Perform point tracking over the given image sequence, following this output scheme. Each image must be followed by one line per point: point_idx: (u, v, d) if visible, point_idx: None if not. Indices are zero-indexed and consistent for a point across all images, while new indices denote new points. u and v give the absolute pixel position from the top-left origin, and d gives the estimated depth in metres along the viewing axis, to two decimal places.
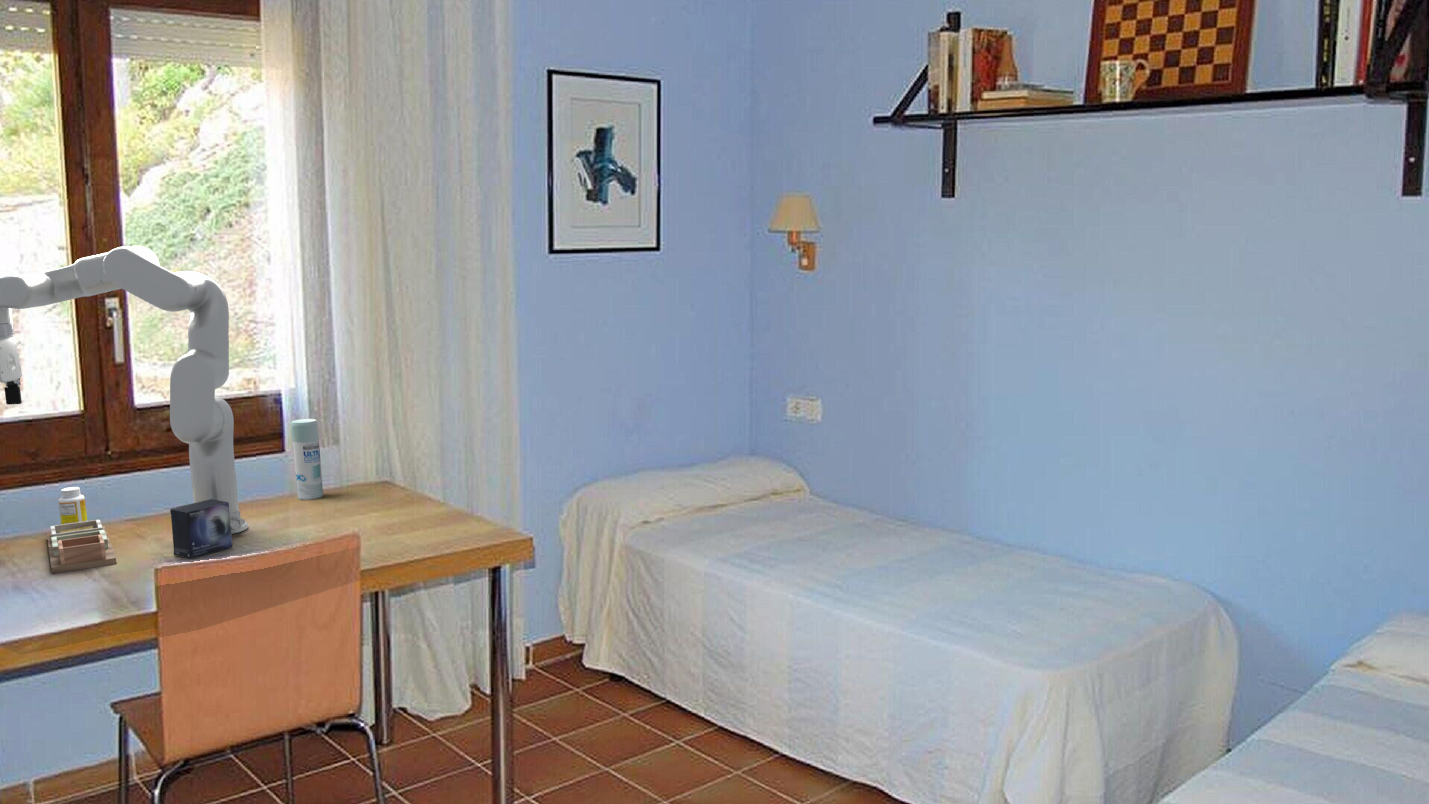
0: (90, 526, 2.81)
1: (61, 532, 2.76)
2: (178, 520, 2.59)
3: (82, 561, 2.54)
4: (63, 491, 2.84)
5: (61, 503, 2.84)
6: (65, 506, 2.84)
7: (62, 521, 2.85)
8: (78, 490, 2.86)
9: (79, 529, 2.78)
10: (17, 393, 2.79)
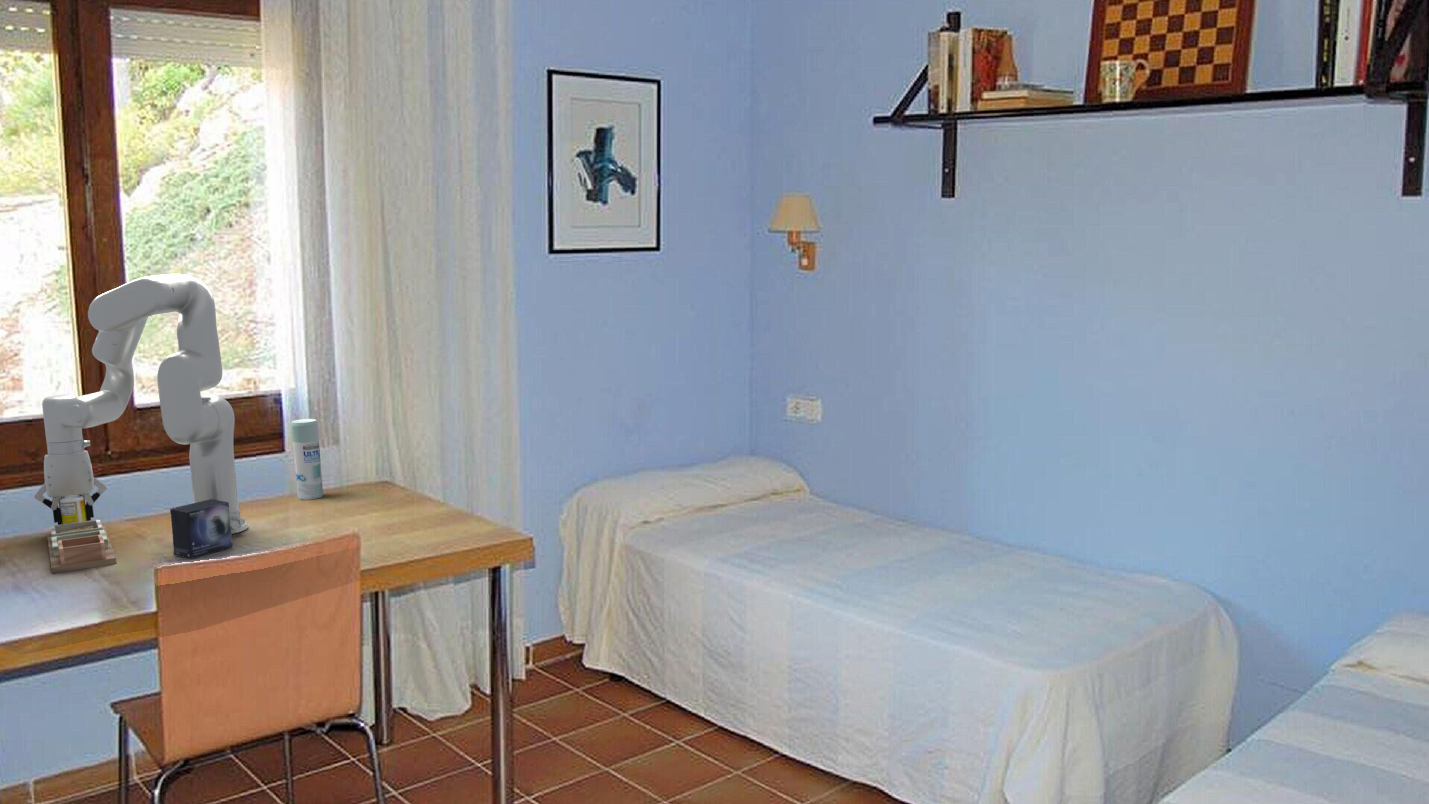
0: (90, 526, 2.81)
1: (61, 532, 2.76)
2: (178, 520, 2.59)
3: (82, 561, 2.54)
4: None
5: (61, 503, 2.84)
6: (65, 506, 2.84)
7: (62, 521, 2.85)
8: None
9: (79, 529, 2.78)
10: None
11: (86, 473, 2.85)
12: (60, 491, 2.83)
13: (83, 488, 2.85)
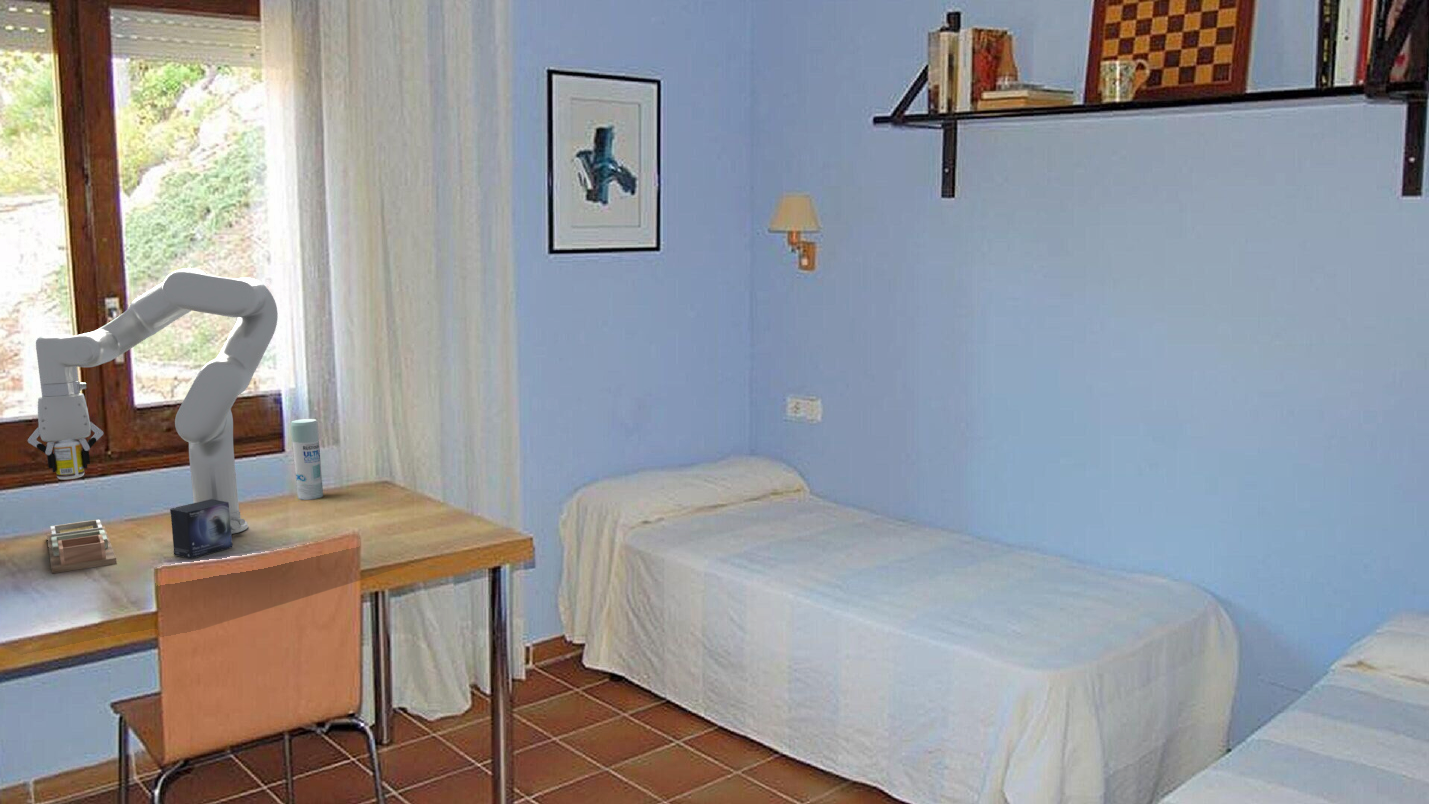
0: (90, 526, 2.81)
1: (61, 532, 2.76)
2: (178, 520, 2.59)
3: (82, 561, 2.54)
4: None
5: (56, 448, 2.71)
6: (60, 451, 2.71)
7: (57, 467, 2.72)
8: None
9: (79, 529, 2.78)
10: None
11: (82, 417, 2.73)
12: (55, 435, 2.70)
13: (79, 432, 2.73)
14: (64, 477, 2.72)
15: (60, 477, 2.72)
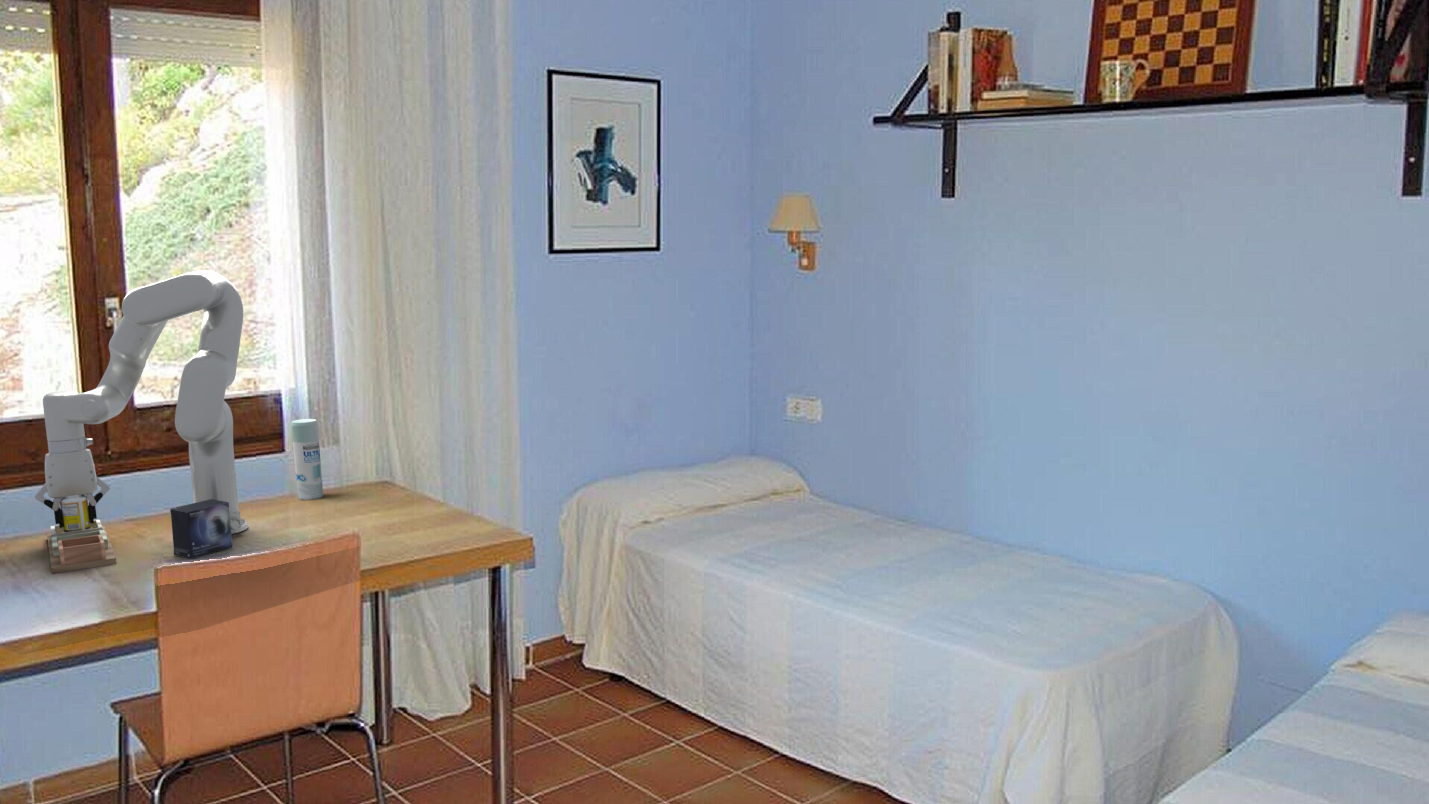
0: None
1: None
2: (178, 520, 2.59)
3: (82, 561, 2.54)
4: None
5: (63, 504, 2.73)
6: (67, 507, 2.73)
7: (64, 522, 2.74)
8: None
9: None
10: None
11: (89, 472, 2.74)
12: (62, 491, 2.72)
13: (85, 488, 2.75)
14: None
15: None
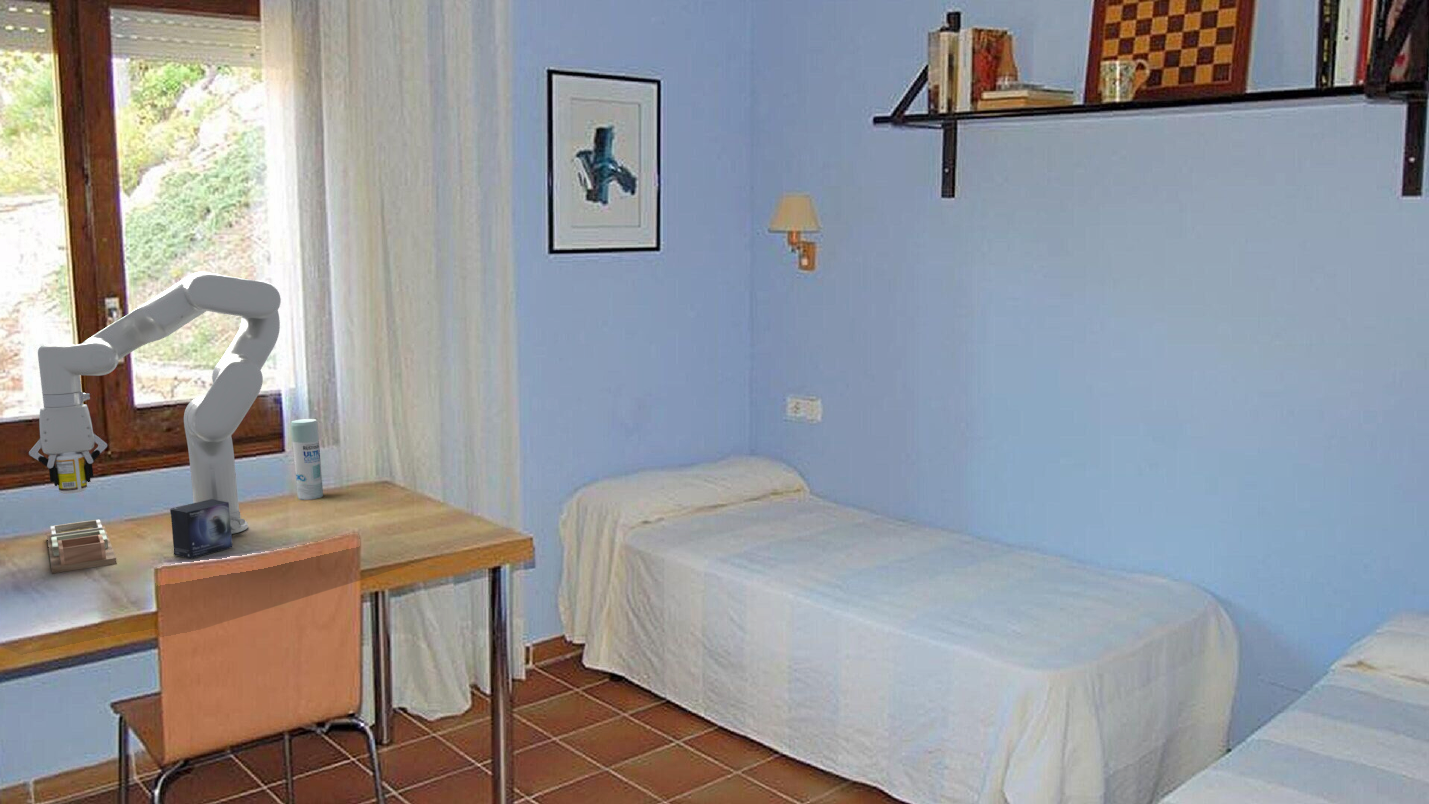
0: (91, 527, 2.81)
1: None
2: (178, 520, 2.59)
3: (82, 561, 2.54)
4: None
5: (58, 461, 2.61)
6: (62, 464, 2.61)
7: (59, 480, 2.62)
8: None
9: None
10: None
11: (85, 428, 2.63)
12: (57, 448, 2.61)
13: (82, 445, 2.63)
14: (66, 491, 2.62)
15: (62, 491, 2.62)
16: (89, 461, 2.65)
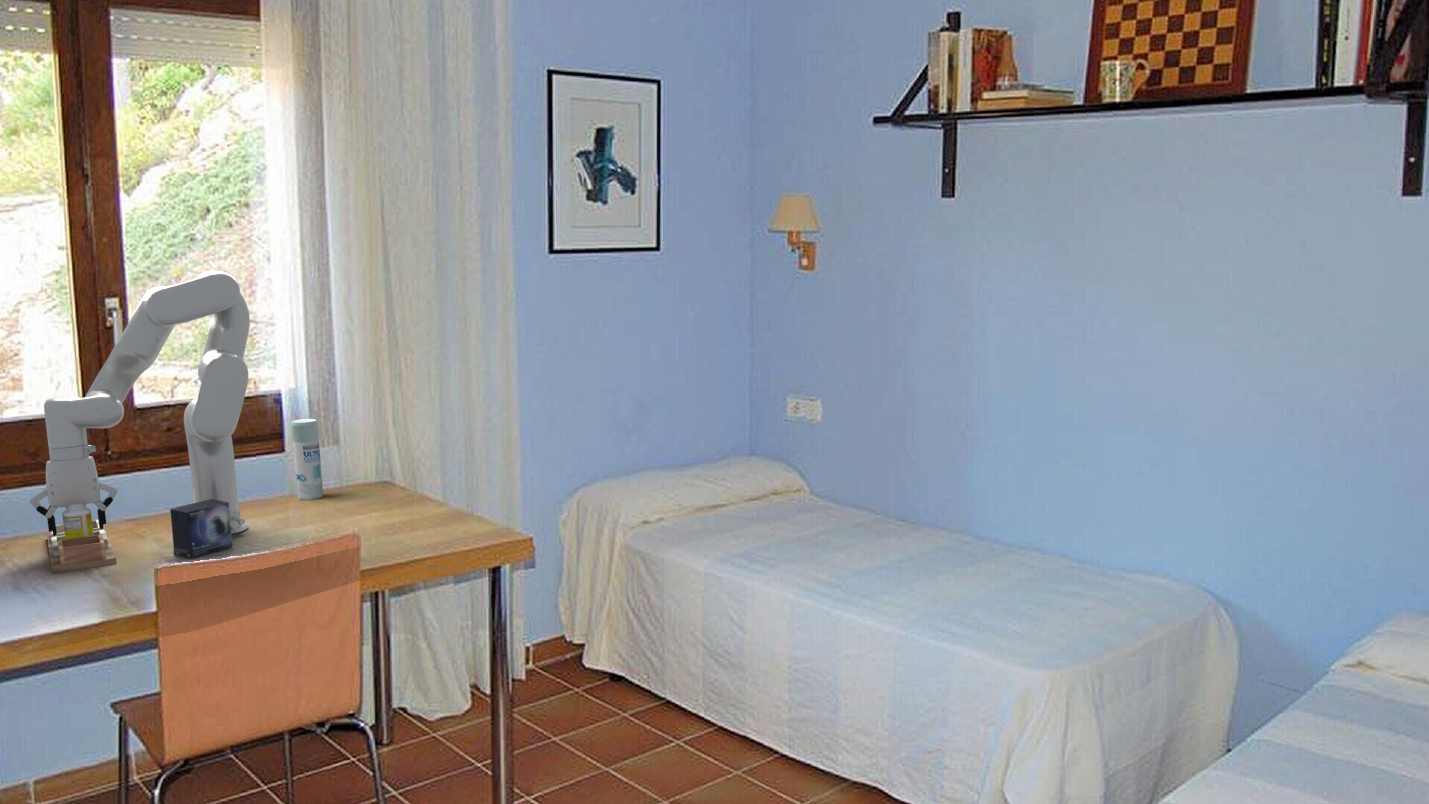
0: None
1: None
2: (178, 520, 2.59)
3: (82, 561, 2.54)
4: None
5: (66, 517, 2.63)
6: (70, 520, 2.63)
7: (66, 536, 2.64)
8: None
9: None
10: None
11: (91, 481, 2.65)
12: (63, 500, 2.62)
13: (88, 497, 2.65)
14: None
15: None
16: (102, 508, 2.67)
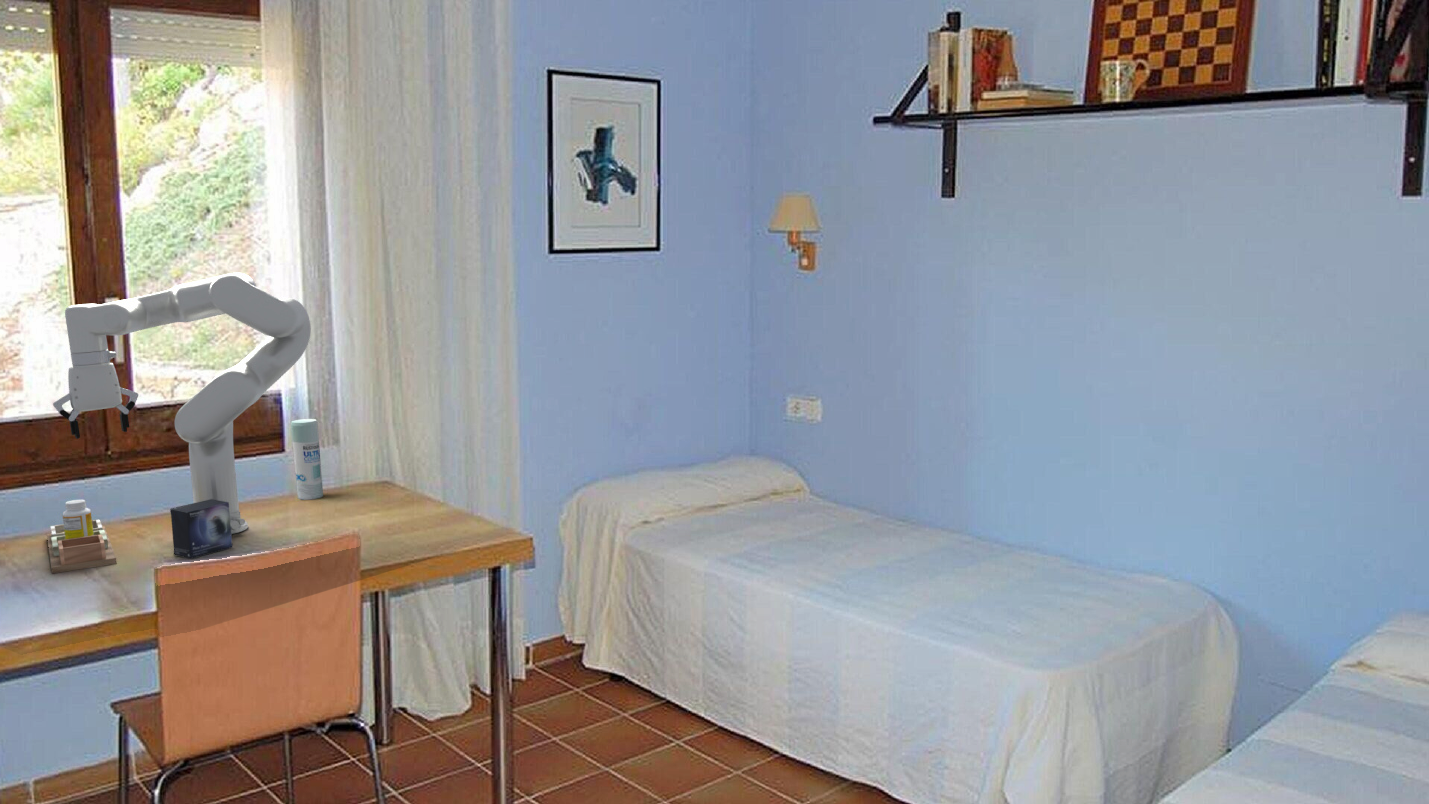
0: None
1: None
2: (178, 520, 2.59)
3: (82, 561, 2.54)
4: (67, 504, 2.64)
5: (66, 517, 2.63)
6: (70, 520, 2.63)
7: (66, 536, 2.64)
8: (84, 503, 2.65)
9: None
10: None
11: (113, 385, 2.73)
12: (87, 404, 2.71)
13: (110, 401, 2.73)
14: None
15: None
16: (125, 412, 2.76)
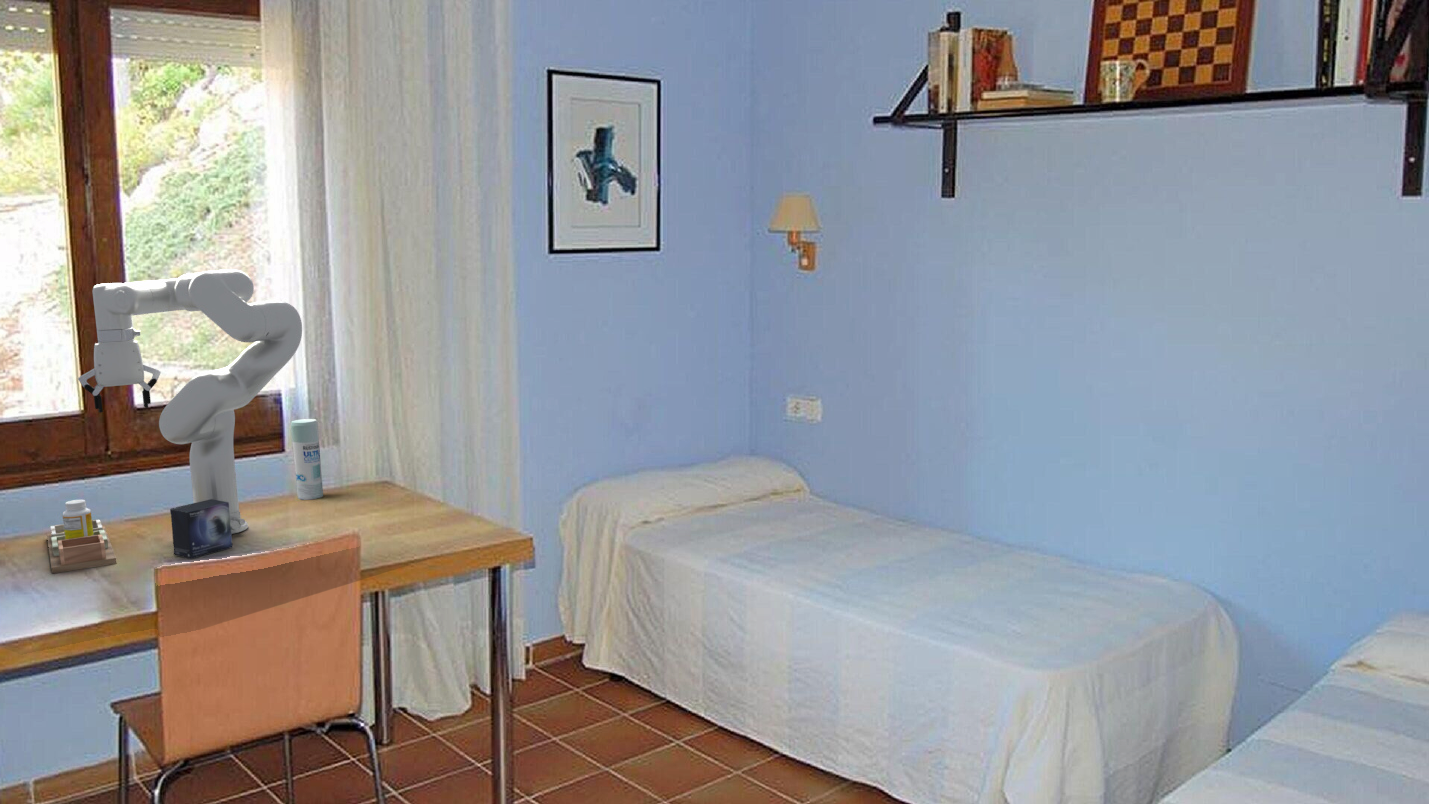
0: None
1: None
2: (178, 520, 2.59)
3: (82, 561, 2.54)
4: (67, 504, 2.64)
5: (66, 517, 2.63)
6: (70, 520, 2.63)
7: (66, 536, 2.64)
8: (84, 503, 2.65)
9: None
10: None
11: (136, 362, 2.83)
12: (110, 380, 2.80)
13: (133, 378, 2.83)
14: None
15: None
16: (147, 388, 2.85)
